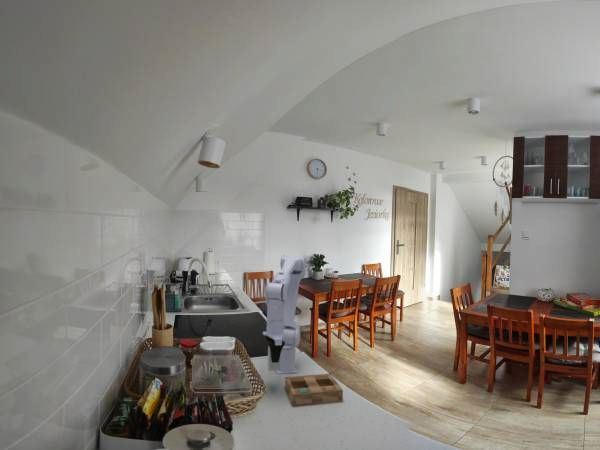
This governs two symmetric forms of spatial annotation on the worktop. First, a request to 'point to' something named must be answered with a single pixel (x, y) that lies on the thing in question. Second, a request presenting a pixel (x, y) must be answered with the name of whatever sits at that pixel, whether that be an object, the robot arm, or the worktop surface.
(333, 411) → the worktop surface
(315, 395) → the port block
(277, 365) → the matte gray box
